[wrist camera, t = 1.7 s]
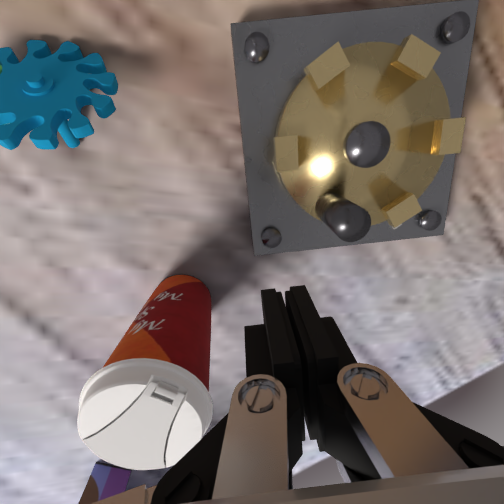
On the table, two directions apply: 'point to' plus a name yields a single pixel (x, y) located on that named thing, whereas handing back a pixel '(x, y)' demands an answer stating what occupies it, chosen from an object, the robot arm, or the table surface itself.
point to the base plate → (290, 74)
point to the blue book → (105, 483)
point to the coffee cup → (153, 382)
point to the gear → (51, 94)
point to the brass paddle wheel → (365, 134)
